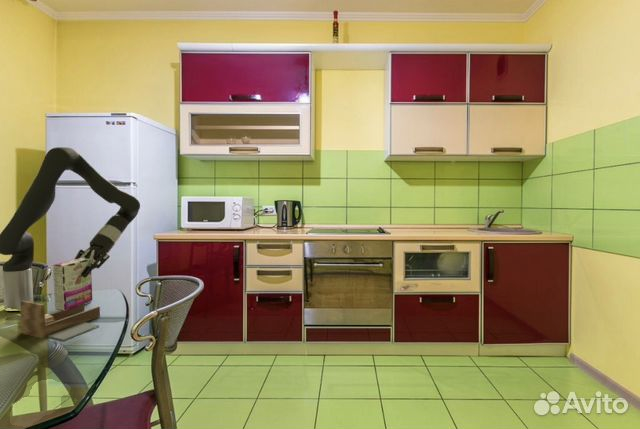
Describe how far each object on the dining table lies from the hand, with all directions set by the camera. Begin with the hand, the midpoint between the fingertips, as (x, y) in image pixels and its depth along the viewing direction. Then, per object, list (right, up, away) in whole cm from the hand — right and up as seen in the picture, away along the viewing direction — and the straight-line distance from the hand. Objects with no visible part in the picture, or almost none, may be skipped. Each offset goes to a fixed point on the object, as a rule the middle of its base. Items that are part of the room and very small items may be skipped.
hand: (77, 275), depth 126 cm
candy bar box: (-1, -11, -1) cm, 11 cm away
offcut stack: (-12, -21, 0) cm, 24 cm away
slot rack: (-9, -20, +7) cm, 23 cm away
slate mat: (-1, -21, 0) cm, 21 cm away
